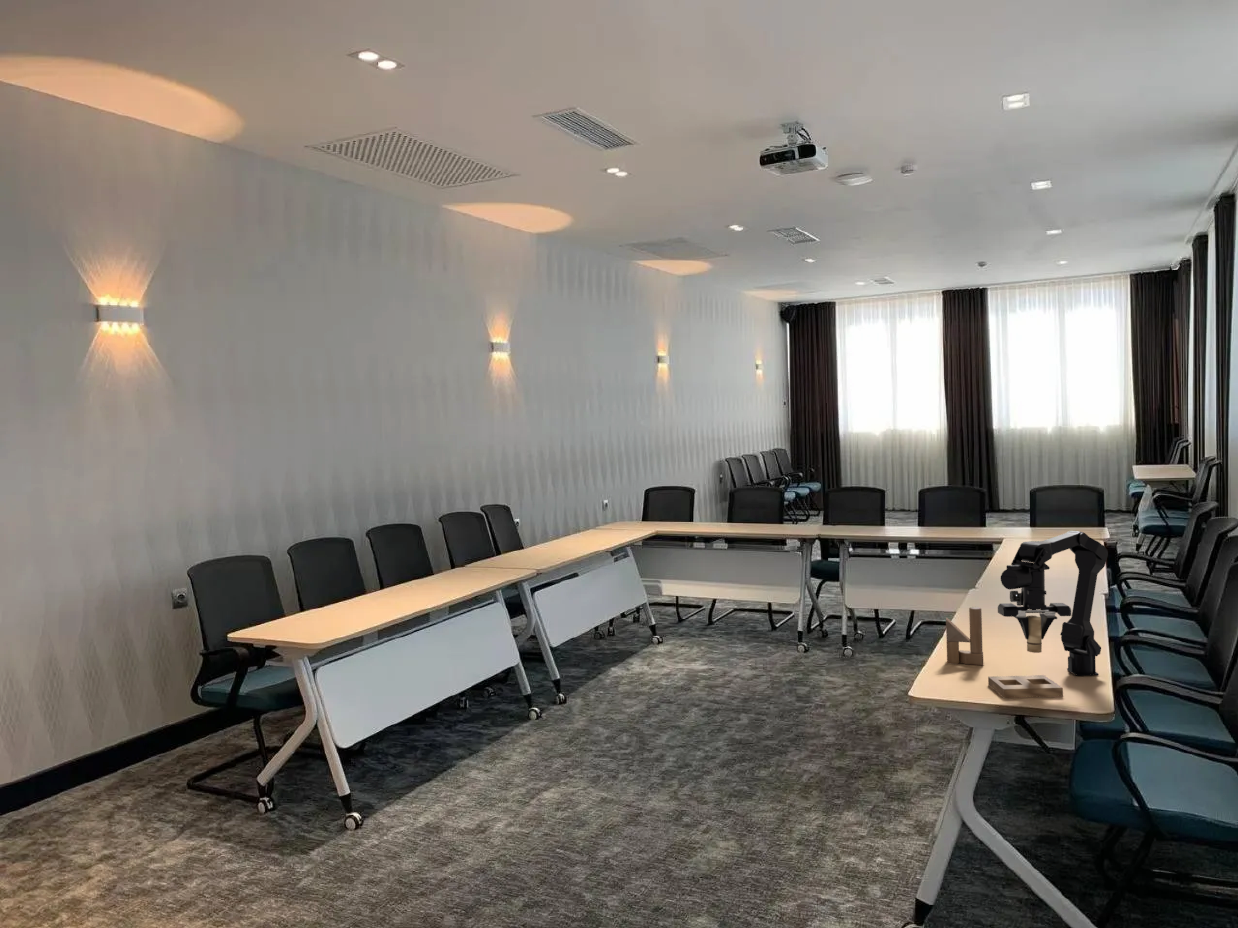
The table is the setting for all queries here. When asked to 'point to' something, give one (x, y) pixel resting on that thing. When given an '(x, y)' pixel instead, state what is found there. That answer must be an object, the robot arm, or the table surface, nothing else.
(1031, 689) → the board
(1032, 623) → the dowel
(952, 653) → the wooden block structure
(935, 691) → the table surface
